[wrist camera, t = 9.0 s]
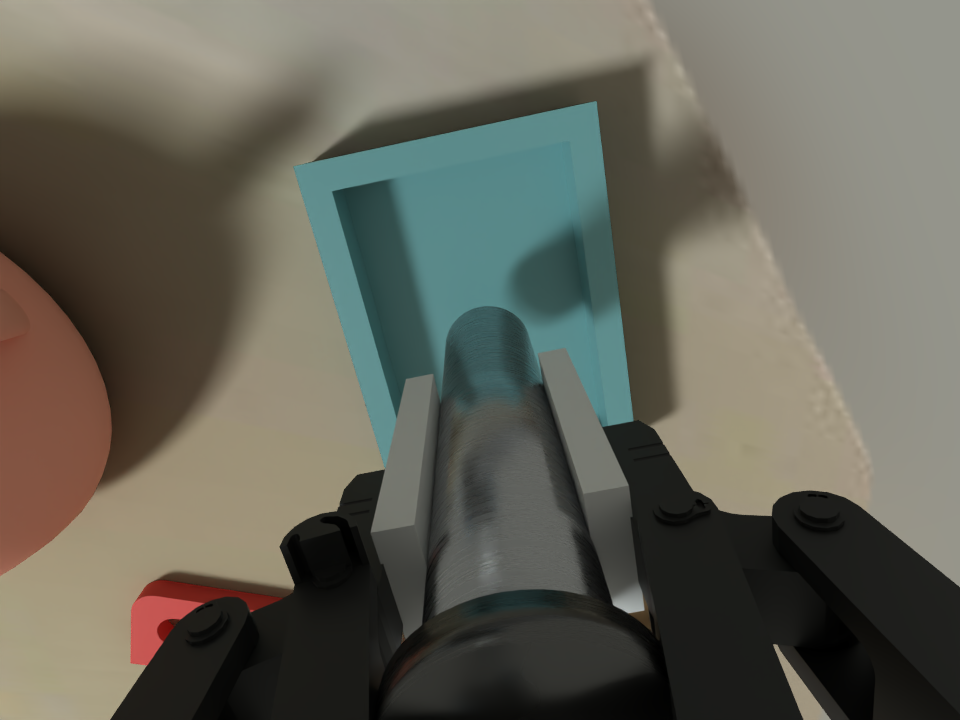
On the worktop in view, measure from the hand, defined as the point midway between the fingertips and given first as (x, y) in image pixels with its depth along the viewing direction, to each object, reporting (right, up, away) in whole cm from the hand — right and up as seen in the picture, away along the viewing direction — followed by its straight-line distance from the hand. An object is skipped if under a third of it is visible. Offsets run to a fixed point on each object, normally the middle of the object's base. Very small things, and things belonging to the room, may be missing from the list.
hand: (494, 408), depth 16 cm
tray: (0, +3, +8) cm, 8 cm away
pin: (0, +2, +5) cm, 5 cm away
